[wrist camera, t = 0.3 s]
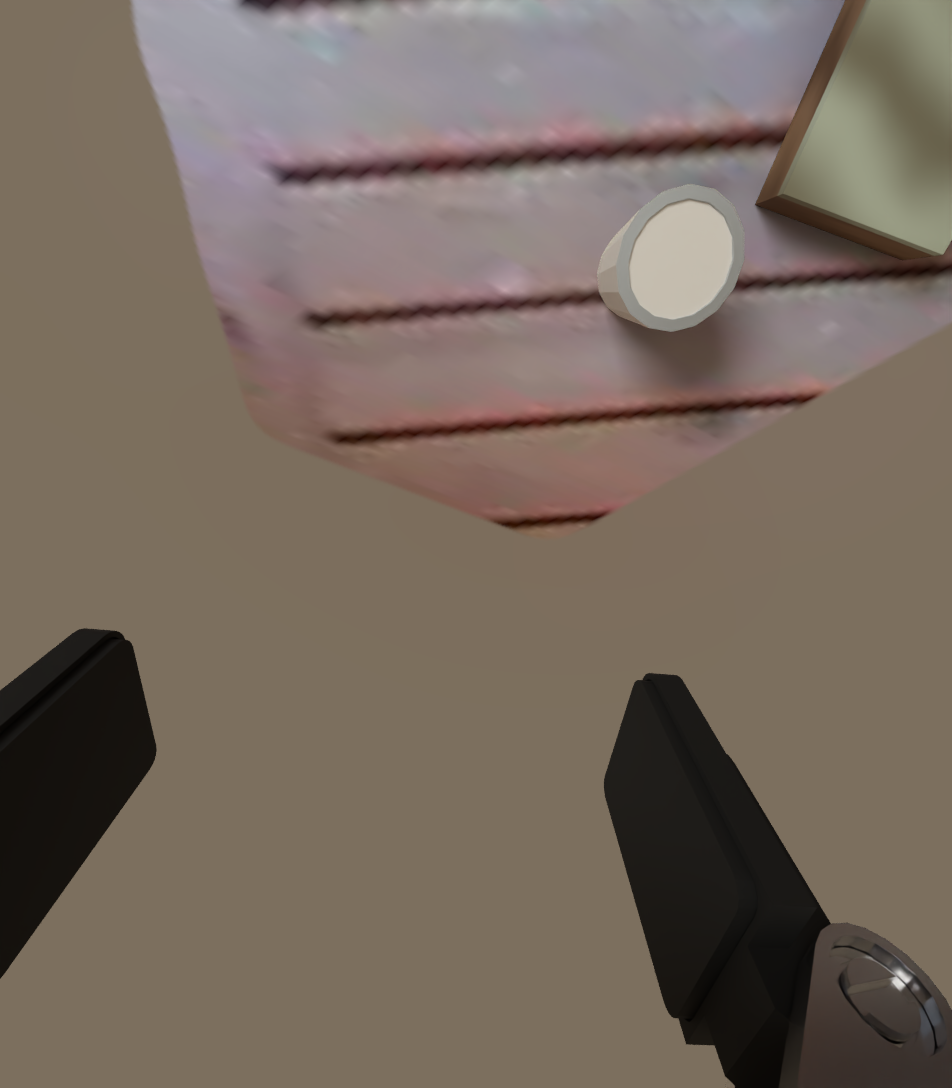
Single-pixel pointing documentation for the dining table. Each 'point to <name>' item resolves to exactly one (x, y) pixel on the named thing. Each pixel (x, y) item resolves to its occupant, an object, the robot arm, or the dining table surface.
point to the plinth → (875, 132)
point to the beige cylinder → (674, 259)
